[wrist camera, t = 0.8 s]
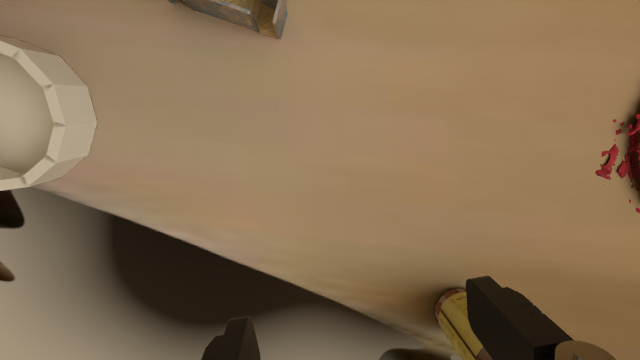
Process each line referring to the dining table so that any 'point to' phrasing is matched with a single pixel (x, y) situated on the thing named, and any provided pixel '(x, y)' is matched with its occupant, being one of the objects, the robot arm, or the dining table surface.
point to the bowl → (40, 116)
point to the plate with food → (638, 153)
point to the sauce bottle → (459, 325)
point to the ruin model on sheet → (246, 13)
